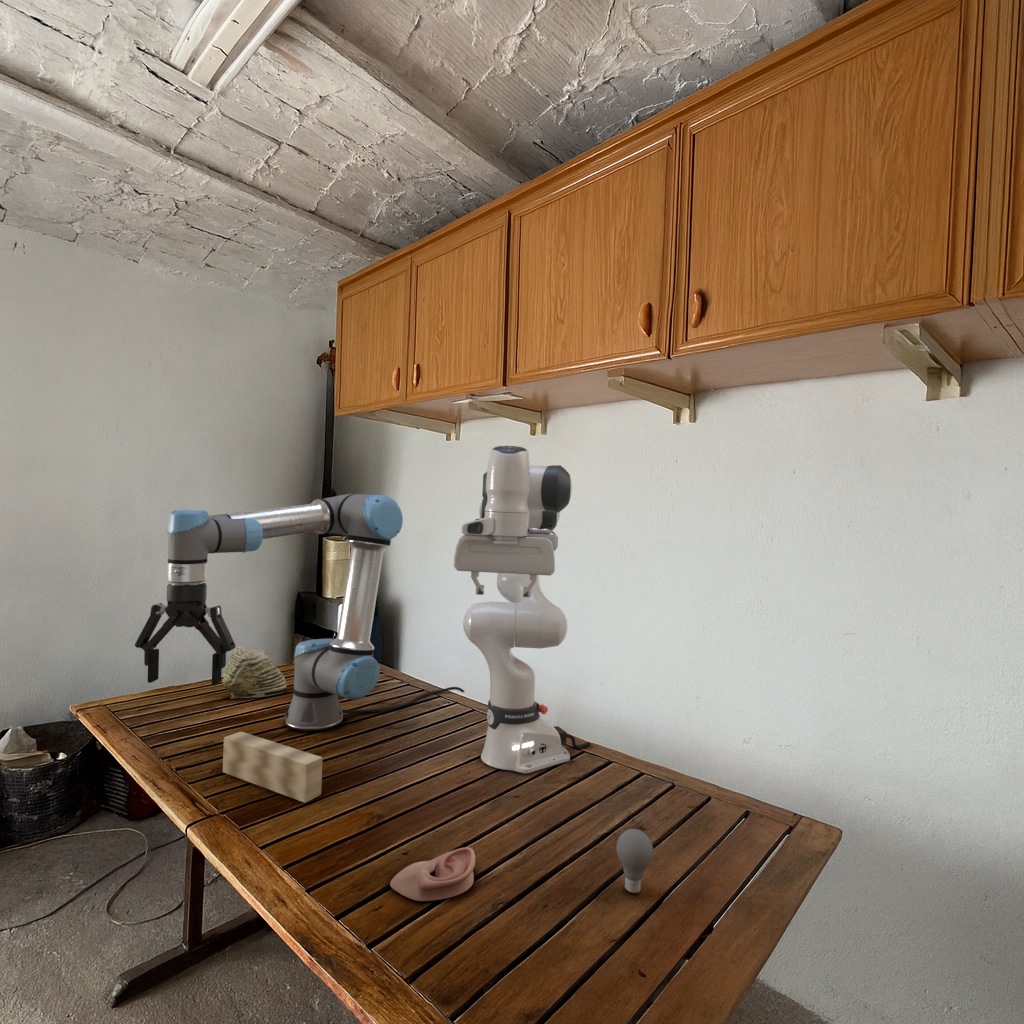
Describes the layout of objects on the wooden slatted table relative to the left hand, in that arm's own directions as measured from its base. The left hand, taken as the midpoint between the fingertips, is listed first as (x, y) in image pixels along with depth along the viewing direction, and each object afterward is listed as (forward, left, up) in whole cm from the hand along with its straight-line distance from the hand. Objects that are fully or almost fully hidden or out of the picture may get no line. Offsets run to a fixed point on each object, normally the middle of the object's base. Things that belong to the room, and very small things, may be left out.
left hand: (184, 682), depth 134 cm
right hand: (-36, +57, +22) cm, 71 cm away
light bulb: (-34, +89, -23) cm, 98 cm away
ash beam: (-14, +11, -23) cm, 29 cm away
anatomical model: (-13, +63, -23) cm, 68 cm away
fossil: (-43, -47, -23) cm, 68 cm away
